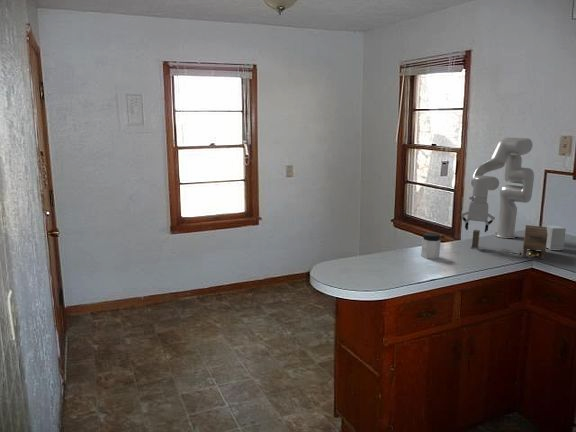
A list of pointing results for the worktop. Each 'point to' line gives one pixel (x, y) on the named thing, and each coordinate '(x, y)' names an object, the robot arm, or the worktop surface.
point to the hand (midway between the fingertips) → (476, 230)
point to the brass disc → (533, 253)
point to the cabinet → (535, 239)
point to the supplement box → (555, 237)
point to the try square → (475, 246)
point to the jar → (431, 245)
